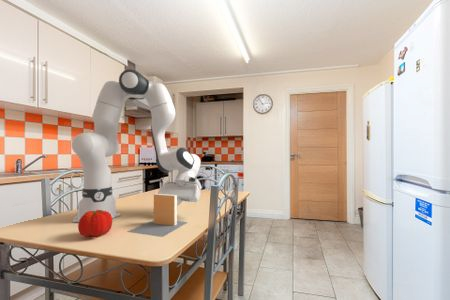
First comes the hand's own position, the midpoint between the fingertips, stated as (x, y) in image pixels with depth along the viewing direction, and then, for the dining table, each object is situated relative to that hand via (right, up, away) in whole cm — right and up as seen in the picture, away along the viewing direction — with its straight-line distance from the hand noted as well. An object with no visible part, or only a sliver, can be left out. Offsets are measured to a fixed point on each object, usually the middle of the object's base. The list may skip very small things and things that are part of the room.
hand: (172, 207), depth 100 cm
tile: (-2, -5, -5) cm, 8 cm away
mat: (-3, -6, -9) cm, 11 cm away
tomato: (-24, -6, -17) cm, 30 cm away
